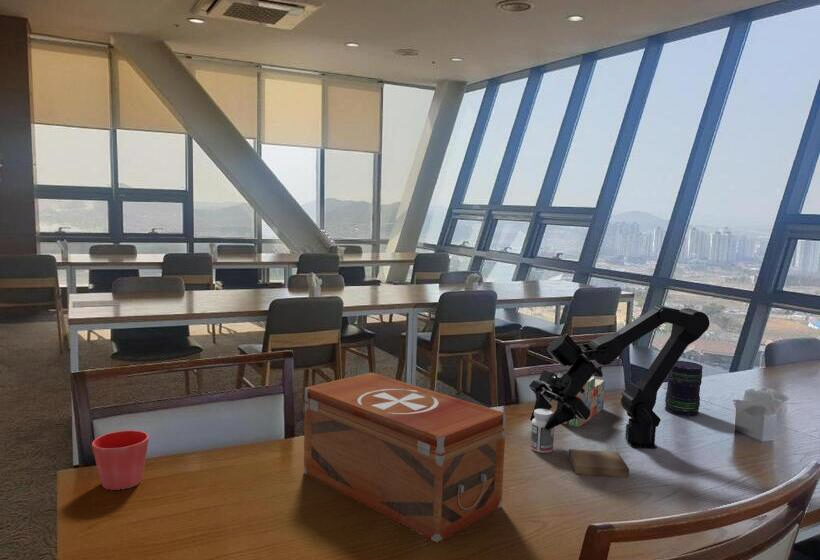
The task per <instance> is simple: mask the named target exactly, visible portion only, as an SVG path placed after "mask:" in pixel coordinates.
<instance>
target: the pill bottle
mask: <svg viewBox="0 0 820 560" xmlns="http://www.w3.org/2000/svg"><path fill="white" fill-rule="evenodd" d="M553 414H554V412H553V411H552V410H550V409H549V410H548V409H536V410H534V416H535V418H534V419H533V420H532V421H531V427H530V428H531V430H530V432H531V433H530V449H531V450H532V451H535V452H536V453H540V454H547V453H551V452H552V451H554V438H555V427H553V428H551V429H549V430H546V429H545V425H546V424H547V422H548V421H549V419H550V418H551V416H552V415H553Z"/></svg>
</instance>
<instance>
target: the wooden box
mask: <svg viewBox="0 0 820 560" xmlns="http://www.w3.org/2000/svg"><path fill="white" fill-rule="evenodd" d="M304 401H305V402H304V421H303V422H304V423H303V424H304V426H303V428H304V430H303V431H304V434H303V435H304V436H303V440H304V441H303V442H304V443H303V444H304V445H303V474H304V475H306V476H309V477H310V476H311V478H312V477H313V478H312V479H314V478H315V480H316V481H318V482H320V483H322V484H324V485H326V486H328V487H330V488H332V489H333V488H334V490H335V489H336V490H335V491H337V492H339V491H340V492H339V493H342V494H343V495H345V496H347V497H349V498H350V497H351V499H352V500H354V501H356V502H358V503H360V504H363V505H364V506H366V507H367V508H369V509H372V510H374V511H375V512H377V513H379V514H381V515H383V516H385V517H387V518H389V519H390V518H391V520H392V519H393V521H394V520H395V522H396V521H397V522H396V523H398V522H399V523H398V524H400V523H401V526H404V525H405V526H404V527H406V528H408V527H409V528H408V529H410V530H411V529H413V530H414V532H415V531H417V532H418V533H417V532H416V533H417V534H419V533H421V534H422V536H423V535H424V536H423V537H425V536H426V537H425V538H427V537H428V538H427V539H429V538H430V539H433V540H434V541H436V542H438V541H440V540H441V541H443V540H445V539H446V537H447V538H448V536H449V537H450V536H452V535H454V534H456V533H458V532H459V531H462V530H463V529H465V528H467V527H468V526H470V525H472V524H474V523H475V522H477V521H479V520H481V519H482V517H483V518H484V517H486V516H488V515H490V514H491V513H494V512H495V511H496V510H499V509H500V508H502V505H503V503H502V502H503V486H504V485H503V483H504V463H505V461H504V460H505V443H506V429H505V428H506V427H507V426H506V424H507V423H506V422H507V413H506V412H503V411H500V410H497V409H494V408H490V407H487V406H484V405H481V404H477V403H475V402H470V401H467V400H463V399H461V398H458V397H453V396H452V395H451V396H450V395H448V394H445V393H440V392H439V391H434V390H431V389H427V388H424V387H422V386H419V385H414V384H411V383H408V382H404V381H401V380H398V379H395V378H391V377H388V376H386V375H385V376H384V375H382V374H378V373H375V372H367V373H363V374H358V375H354V376H350V377H345V378H340V379H336V380H331V381H328V382H323V383H318V384H314V385H310V386H307V387H304ZM413 530H412V531H413ZM457 531H458V532H457ZM455 532H456V533H455ZM453 533H454V534H453ZM421 534H420V535H421ZM451 534H452V535H451ZM444 538H445V539H444ZM430 539H429V540H430ZM442 539H443V540H442ZM434 541H433V542H434ZM441 541H440V542H441ZM436 542H435V543H436ZM438 543H439V542H438Z"/></svg>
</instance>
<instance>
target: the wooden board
mask: <svg viewBox="0 0 820 560" xmlns="http://www.w3.org/2000/svg"><path fill="white" fill-rule="evenodd" d="M567 457H568V460H569V462H570V463H571V466H572V469H573V471H574V474H575V475H585V476H586V475H587V476H605V477H622V478H629V476H630V468H629V466H628V465H627V464H626V462H625V460H624V459H623V457H622V456H621V453H619V452H618V451H608V450H607V451H605V450H590V449H571V448H568V453H567Z"/></svg>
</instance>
